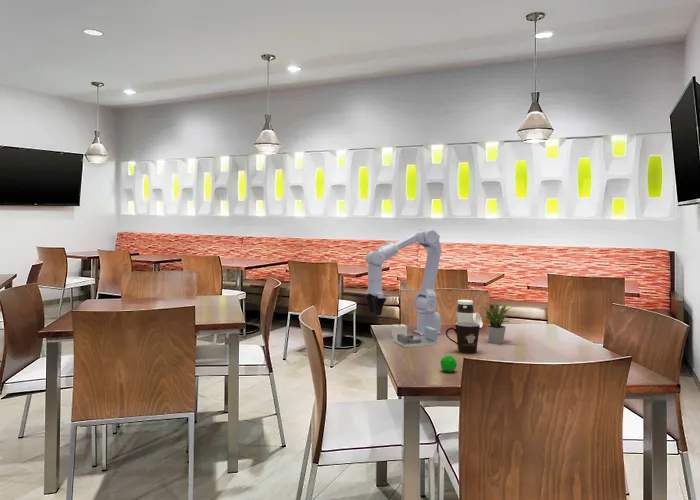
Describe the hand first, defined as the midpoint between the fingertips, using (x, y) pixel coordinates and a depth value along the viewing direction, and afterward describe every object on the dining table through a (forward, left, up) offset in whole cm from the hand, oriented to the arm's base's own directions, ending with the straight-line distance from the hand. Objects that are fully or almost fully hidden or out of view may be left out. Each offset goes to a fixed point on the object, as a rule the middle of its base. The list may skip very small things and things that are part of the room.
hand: (375, 313), depth 212 cm
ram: (-18, +14, -8) cm, 25 cm away
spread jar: (-48, -9, -10) cm, 50 cm away
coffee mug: (-22, +32, -10) cm, 41 cm away
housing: (-9, +3, -10) cm, 14 cm away
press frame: (-11, +14, -10) cm, 21 cm away
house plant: (-43, +23, -10) cm, 50 cm away
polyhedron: (-5, +54, -10) cm, 56 cm away
